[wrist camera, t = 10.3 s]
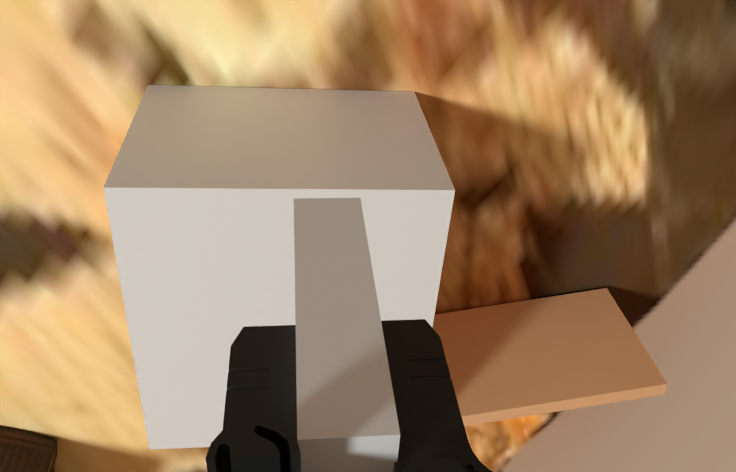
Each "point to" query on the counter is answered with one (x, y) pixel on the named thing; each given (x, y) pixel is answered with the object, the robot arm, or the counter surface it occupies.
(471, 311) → the side door
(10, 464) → the dark manual coffee grinder
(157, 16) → the counter surface
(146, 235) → the block
